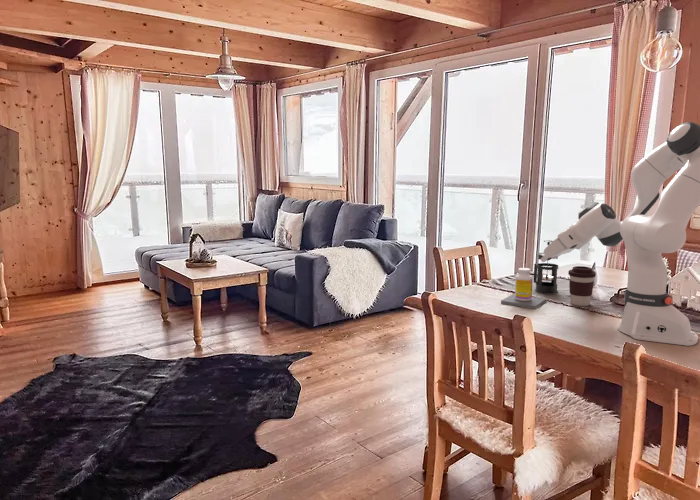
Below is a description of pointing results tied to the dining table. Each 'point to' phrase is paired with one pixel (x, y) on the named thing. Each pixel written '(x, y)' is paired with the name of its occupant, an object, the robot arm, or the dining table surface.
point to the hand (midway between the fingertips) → (547, 259)
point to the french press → (545, 286)
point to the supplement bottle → (523, 285)
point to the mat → (524, 302)
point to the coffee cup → (581, 285)
